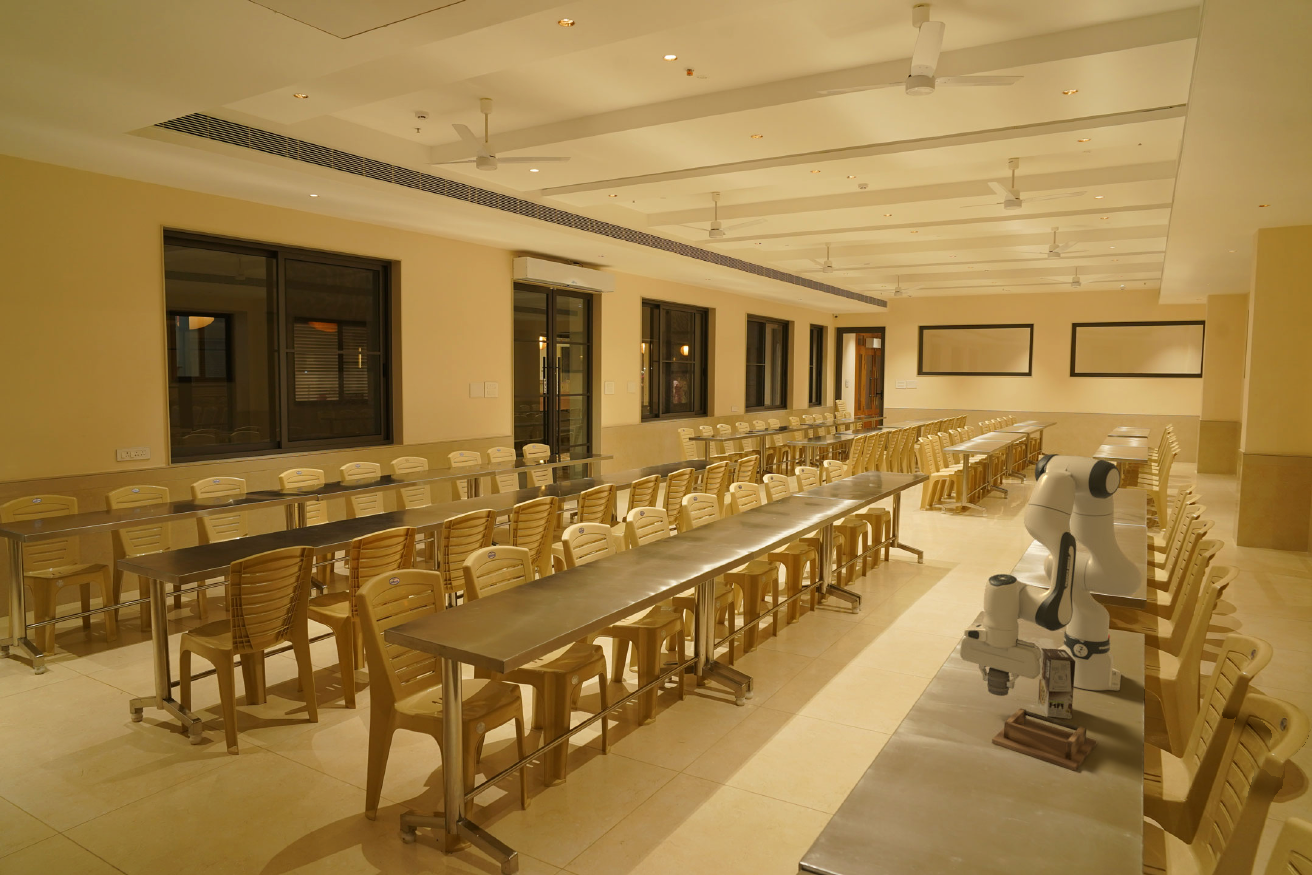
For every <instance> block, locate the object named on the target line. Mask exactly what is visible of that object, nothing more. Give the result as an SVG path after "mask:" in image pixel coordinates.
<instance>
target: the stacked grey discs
mask: <svg viewBox="0 0 1312 875" xmlns="http://www.w3.org/2000/svg"><path fill="white" fill-rule="evenodd" d="M987 673H988V682H987V691H988V693H990V694H991V695H994V696H1000V697H1002V696H1004V697H1005V696H1008V694H1009V690H1010V688H1008V687H1007V681H1009V679H1010V673H1009V672H1005V671H1002V670H998V669H994V668H991V667H988V671H987Z"/></svg>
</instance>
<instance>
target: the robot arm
mask: <svg viewBox="0 0 1312 875" xmlns="http://www.w3.org/2000/svg"><path fill="white" fill-rule="evenodd" d="M1119 470H1120V469H1118V467H1117V466H1116V465H1115V463H1112V462H1111V461H1108V460H1104V459H1096V458H1092V457H1087V456H1081V455H1064V454H1063V455H1062V454H1061V455H1060V454H1058V453H1057V454H1056V453H1053V454H1052V453H1051V454H1046V455H1043V456H1042V457H1041V458H1040V459H1039V460H1038V461H1037V463H1036V465H1035V469H1034V478H1035V481H1036V483H1035V485H1034V486H1033V489H1032V492H1031V494H1030V497H1029V500H1028V502H1027V505H1026V509H1025V512H1024V518H1023V521H1024V522H1023V524H1024V528H1025V529H1026V532H1028V534H1029V535H1030V536H1031V537H1032V538H1033V539H1034V540H1036V541H1037V542H1038V543H1040V545H1042V546H1044V547H1045V548H1046V549H1047V550H1048V551H1049V553H1048V554H1047V556H1046V557H1045V559H1044V563H1043V571H1044V573H1045V575H1046V577H1047V579H1048V580H1050V586H1049V588H1048V589H1045V588H1042V587H1038V586H1036V585H1032V584H1028V583H1026V582H1022V581H1020V580H1018V579H1017V577H1015V576H1014V575H1011V574H1005V573H999V574H993V575H991V576H990V577H988V579H987V581H986V585H985V588H984V596H983V610H984V617H983V619H982V622H981V623H974V624H972V625H970V626H967V628H966V629H964V631H963V633H964V634H963V635H964V637H963V638H962V640H961V642H960V643H961V644H960V649H959V650H960V651H959V653H960V654H959V656H960V658H961V659H962V661H966V662H969V663H973V664H977V665H978V669H979V670H980V672H981V675H982V681H983V682H987V683H988V671H987V669H986V668H987V667H988V668H990V667H991V668H994V669H998V670H1002V671H1005V672H1009V674H1011V677H1012V679H1010V678H1009V681H1007V687H1008V688H1009V689H1012V690H1013V689H1014V688H1015V684H1016V681H1017V679H1018V678H1019V677H1025V678H1027V679H1032V680H1033V679H1036V678H1037V677H1038V676H1040V660H1041V647H1040V646H1038V645H1036V643H1034V642H1030V641H1026V640H1022V639H1019V629H1020V627H1019V626H1020V624H1019V621H1018V620H1019V619H1020V620H1022V621H1023V620H1024V621H1027V622H1029V623H1032V624H1034V625H1037V626H1039V627H1041V628H1043V629H1045V630H1047V631H1050V632H1056V631H1059V630H1060V629H1061V630H1062V629H1063V628H1065V627H1066V628H1065V631H1064V634H1063V645H1062V646H1059V647H1058V648H1057V649H1062V650H1065V651H1066V652H1067V653H1068V654H1069V655H1070V656H1071V657H1072V658H1073V659H1074V660H1075V661H1076V662H1075V675H1074V687H1075V688H1079V689H1083V690H1087V691H1088V690H1090V691H1120V689H1121V678H1122V677H1121V676H1122V674H1121V671H1119V670H1118V669H1116V668H1114V655H1113V654H1112V653H1111V651H1110V650H1111V648H1110V646H1111V640H1110V638H1111V635H1110V634H1109V633H1110V632H1109V630H1110V629H1109V628H1110V613H1109V611H1108V610H1107V609H1106V607H1104V605H1102V604H1101V603H1099V602H1098V601H1097V600H1095V599H1094V598H1093V596H1092V594H1091V592H1094V593H1099V594H1103V595H1110V596H1114V597H1115V596H1117V597H1120V596H1121V597H1131V596H1133V595H1134V594H1136V593H1137V592H1138V590H1139V589H1140V587H1141V585H1142V578H1143V577H1142V573H1141V570H1140V569H1139V567H1138V566H1137V565H1136V564H1135V563H1134V562H1133V561H1132V560H1130V559H1129V558H1128V557H1127V556H1126V555H1125V554H1124V552H1123V551H1122V549H1121V548H1120V546H1119V544H1118V542H1117V539H1116V535H1115V522H1114V520H1115V519H1114V516H1115V512H1114V511H1115V510H1114V509H1115V508H1114V506H1115V505H1114V494H1115V493H1116V492H1117V490H1118V489H1119V486H1120V483H1121V473H1120V471H1119ZM1077 543H1078V544H1079V543H1080V544H1081V545H1082V546H1084V547H1085V548H1086V549H1087V550H1088V552H1083V551H1078V550H1077Z"/></svg>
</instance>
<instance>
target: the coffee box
mask: <svg viewBox="0 0 1312 875" xmlns="http://www.w3.org/2000/svg"><path fill="white" fill-rule="evenodd" d="M1040 650H1041V658H1040V659H1039V660H1040V674H1039V678H1038V679H1039V683H1038V701H1037V702H1038V705H1039V706H1040V708H1041V710H1042V711H1043V712H1044V713H1045V716H1046V717H1049V718H1060V719H1069V720H1071V719H1072V715H1073V701H1074V675H1075V662H1076V661H1075V660H1074V659H1073V658H1072V657H1071V656H1070V655H1069V654H1068V653H1067V652H1066V651H1065V650H1062V649H1058V648H1044V647H1043V648H1042V647H1040Z"/></svg>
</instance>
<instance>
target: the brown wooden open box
mask: <svg viewBox="0 0 1312 875" xmlns="http://www.w3.org/2000/svg"><path fill="white" fill-rule="evenodd" d="M1027 717H1031V718H1033V719H1036V720H1040V721H1043V722H1047V723H1050V724H1053V725H1057V726H1059V727H1062V728H1063V727H1064V728H1066V729H1069V730H1073V731H1074V732H1070V731H1068V730H1064V729H1061V728H1058V727H1054V726H1051V725H1049V724H1048V725H1047V724H1045V723H1041V722H1037V721H1035V720H1032V719H1029V718H1027ZM991 744H993V745H997V746H1000V747H1003V748H1005V749H1009V750H1011V751H1015V752H1018V753H1020V754H1023V755H1027V756H1029V757H1032V758H1035V759H1037V760H1038V759H1039V760H1042V761H1045V762H1047V763H1050V764H1052V765H1056V766H1059V767H1062V768H1065V769H1068V770H1071V771H1074V772H1075V771H1077V770H1078V768H1079V767H1080V766H1081V764H1082V763H1083V762H1084V760H1085V759H1086V758H1087V757H1088V756H1089V755H1090V753H1091V752H1092V750H1093V749H1094V748H1095V747H1096V745H1097V740H1096V739H1094V738H1090V737H1087V727H1085V726H1078V725H1075V724H1072V723H1068V722H1065V721H1062V720H1060V719H1059V720H1058V719H1055V718H1053V717H1048V716H1047V715H1042V714H1039V713H1035V712H1031V711H1029V710H1027V709H1024V708H1019V709H1017V711H1015V712H1014V713H1013V714H1012V715H1011V716H1010V717H1009V718H1008V719H1007V720H1006V721H1004V727H1003V728H1002V730H1000V731H999V732H998V733H997V734H996V735H995V736H994V737H993V738H992V739H991Z"/></svg>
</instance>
